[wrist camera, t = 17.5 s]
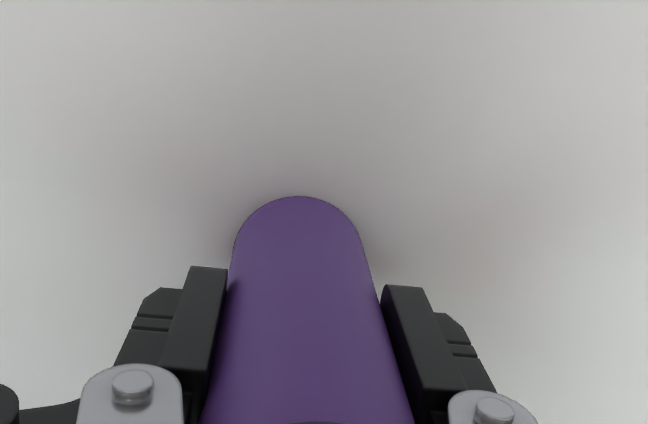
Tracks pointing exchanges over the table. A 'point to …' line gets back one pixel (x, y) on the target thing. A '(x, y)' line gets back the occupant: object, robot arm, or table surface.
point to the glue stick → (302, 326)
